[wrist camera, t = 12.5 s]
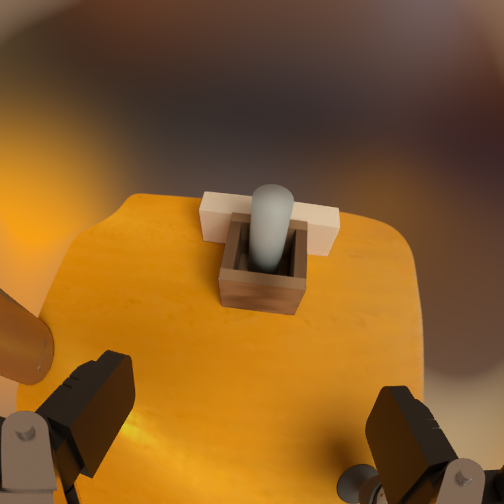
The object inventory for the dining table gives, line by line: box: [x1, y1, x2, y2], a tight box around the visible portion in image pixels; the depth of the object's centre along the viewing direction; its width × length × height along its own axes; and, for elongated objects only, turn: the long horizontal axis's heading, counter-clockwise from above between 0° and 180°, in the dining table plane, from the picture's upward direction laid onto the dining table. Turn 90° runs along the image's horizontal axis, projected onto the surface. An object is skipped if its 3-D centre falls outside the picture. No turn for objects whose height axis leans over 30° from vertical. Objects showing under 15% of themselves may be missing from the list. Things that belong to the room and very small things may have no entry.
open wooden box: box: [218, 212, 308, 315], centre depth 32 cm, size 8×8×7 cm
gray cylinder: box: [248, 184, 294, 275], centre depth 30 cm, size 4×4×12 cm
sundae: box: [337, 464, 388, 504], centre depth 15 cm, size 7×7×15 cm
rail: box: [199, 192, 340, 256], centre depth 36 cm, size 16×3×6 cm, turn 83°
